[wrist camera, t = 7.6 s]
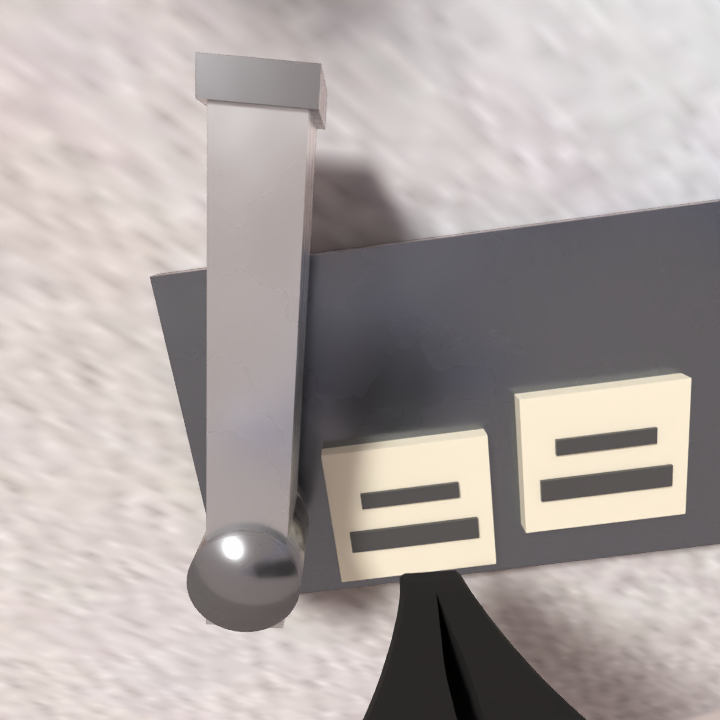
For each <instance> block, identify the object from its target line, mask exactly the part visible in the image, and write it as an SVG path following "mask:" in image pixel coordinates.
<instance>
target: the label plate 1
mask: <svg viewBox="0 0 720 720" xmlns="http://www.w3.org/2000/svg"><path fill="white" fill-rule="evenodd" d="M321 458H322V464H323V470H324V477H325V483H326V489H327V495H328V501H329V507H330V513H331V519H332V525H333V532H334V538H335V544H336V550H337V556H338V562H339V568H340V574H341V580H342V582H348V581H356V580H365V579H373V578H381V577H390V576H398V575H403V574H404V573H419V572H432V571H440V570H448V569H457V568H465V567H473V566H482V565H490V564H496V553H495V538H494V523H493V509H492V494H491V480H490V465H489V450H488V436H487V434H486V432H485V430H484V429H477V430H469V431H461V432H453V433H445V434H437V435H429V436H421V437H413V438H405V439H397V440H389V441H381V442H373V443H365V444H357V445H349V446H341V447H333V448H325V449H322V453H321Z"/></svg>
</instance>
